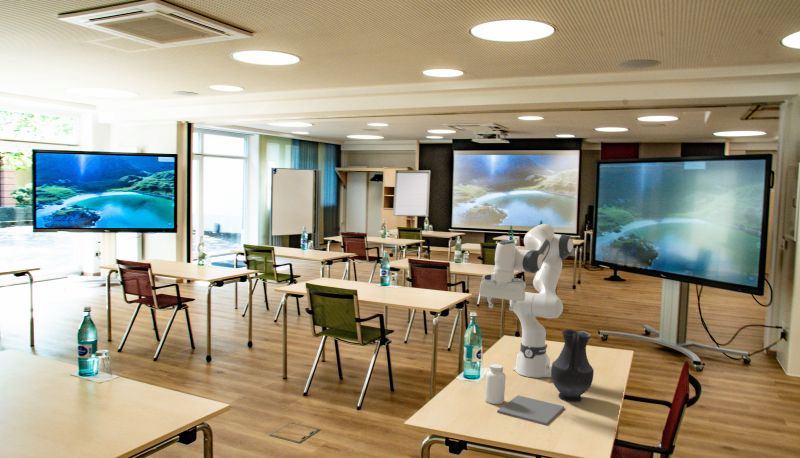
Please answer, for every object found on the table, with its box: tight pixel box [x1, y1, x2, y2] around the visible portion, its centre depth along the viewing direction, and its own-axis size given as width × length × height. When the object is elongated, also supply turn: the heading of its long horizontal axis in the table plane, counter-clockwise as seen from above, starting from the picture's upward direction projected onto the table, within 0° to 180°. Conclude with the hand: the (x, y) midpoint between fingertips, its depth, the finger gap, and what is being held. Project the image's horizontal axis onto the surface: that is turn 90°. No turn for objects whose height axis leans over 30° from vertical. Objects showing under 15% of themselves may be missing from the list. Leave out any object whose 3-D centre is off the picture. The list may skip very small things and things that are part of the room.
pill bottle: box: [484, 363, 506, 405], centre depth 247 cm, size 8×8×15 cm
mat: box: [496, 395, 565, 426], centre depth 239 cm, size 22×20×1 cm
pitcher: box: [550, 329, 595, 403], centre depth 253 cm, size 17×21×30 cm
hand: (500, 309), depth 260 cm, fingers open, 8 cm apart
